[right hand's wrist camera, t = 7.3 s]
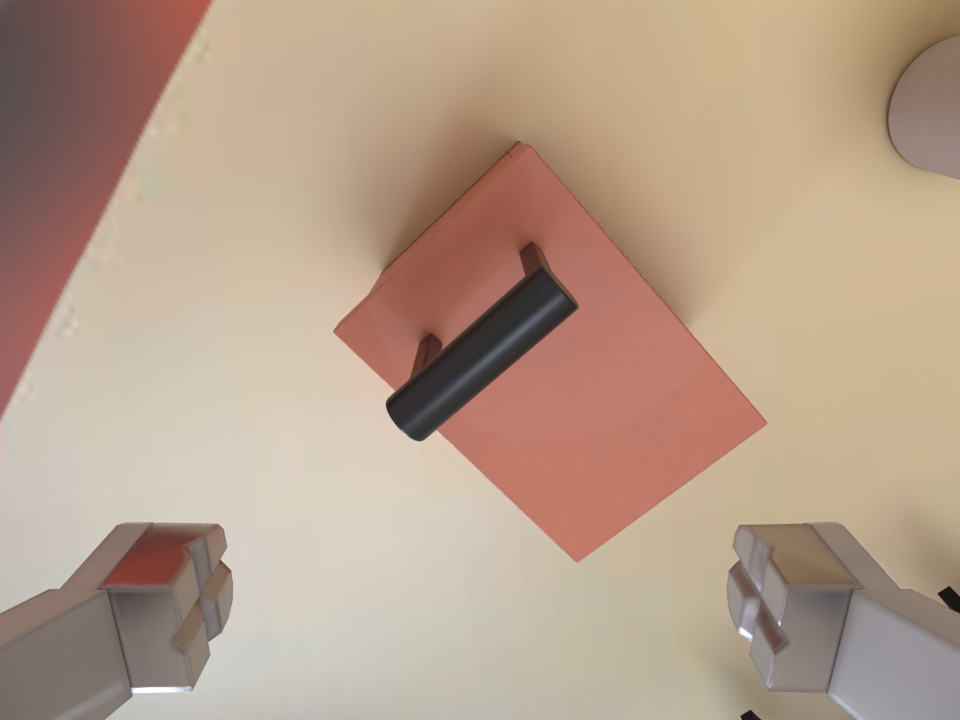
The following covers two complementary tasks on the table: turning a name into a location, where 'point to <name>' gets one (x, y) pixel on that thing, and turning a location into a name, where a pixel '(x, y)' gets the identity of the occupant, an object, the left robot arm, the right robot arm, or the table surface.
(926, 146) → the coffee cup
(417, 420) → the lid
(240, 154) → the table surface
